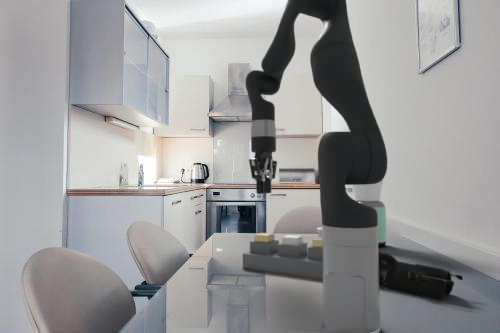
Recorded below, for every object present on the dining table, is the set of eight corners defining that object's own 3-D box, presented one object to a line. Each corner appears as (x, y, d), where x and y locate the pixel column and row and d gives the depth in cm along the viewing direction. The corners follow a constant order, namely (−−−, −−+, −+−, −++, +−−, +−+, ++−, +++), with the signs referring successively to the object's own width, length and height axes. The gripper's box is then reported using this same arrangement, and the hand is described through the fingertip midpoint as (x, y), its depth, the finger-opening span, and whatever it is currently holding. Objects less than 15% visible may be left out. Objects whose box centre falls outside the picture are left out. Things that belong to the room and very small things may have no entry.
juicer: (374, 251, 119) (372, 151, 121) (340, 246, 129) (339, 154, 130) (398, 244, 132) (395, 154, 133) (365, 239, 142) (363, 156, 143)
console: (331, 280, 85) (331, 251, 85) (242, 267, 98) (242, 243, 98) (344, 269, 95) (343, 244, 95) (262, 259, 108) (262, 237, 109)
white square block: (296, 249, 94) (296, 238, 94) (282, 248, 96) (282, 237, 96) (302, 247, 98) (302, 236, 98) (288, 245, 100) (288, 234, 100)
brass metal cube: (328, 253, 89) (328, 240, 89) (312, 251, 91) (312, 239, 92) (333, 250, 93) (333, 238, 93) (318, 248, 95) (317, 237, 95)
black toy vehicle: (452, 308, 68) (452, 267, 68) (341, 279, 86) (341, 247, 86) (462, 300, 72) (462, 261, 73) (355, 274, 91) (355, 243, 91)
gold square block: (267, 247, 98) (267, 235, 98) (254, 245, 100) (254, 234, 101) (274, 244, 102) (274, 233, 102) (261, 243, 104) (261, 232, 104)
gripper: (263, 132, 95) (264, 194, 94) (284, 138, 107) (285, 192, 106) (240, 134, 98) (240, 194, 98) (263, 139, 111) (264, 192, 110)
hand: (264, 193), depth 102 cm, fingers open, 4 cm apart
